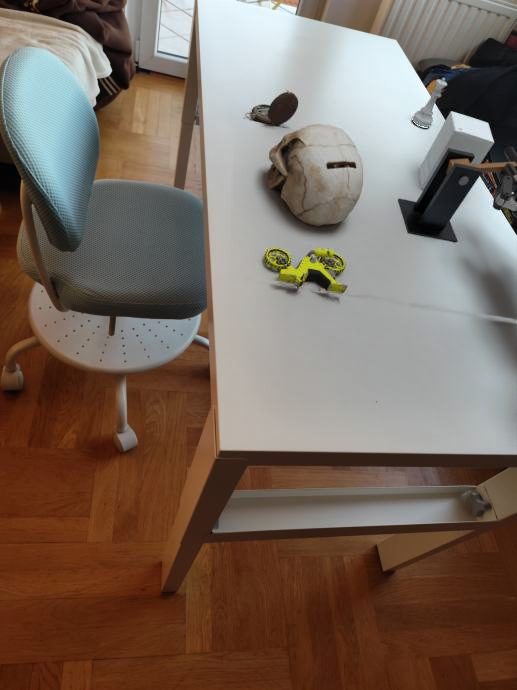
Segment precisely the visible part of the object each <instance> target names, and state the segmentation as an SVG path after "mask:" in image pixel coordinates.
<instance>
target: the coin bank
mask: <svg viewBox="0 0 517 690" xmlns="http://www.w3.org/2000/svg"><path fill="white" fill-rule="evenodd" d="M268 159H269V160H270V162H271V163H272V164H271V165H270V168H269V170H268V171H267V181H266V184H267V185H268V188H269V189H271V190H274V191H279V192H280V193H281V194H280V198H281V200H283V201H284V202H285V203H286V204H287V207H288V208H289V210H290V212H291V214H292V215H293V216H294V217H295V218H296V219H298V220H299V221H301V222H302V223H305V224H308V225H311V226H315V227H320V226H324V225H326V226H327V225H328V226H329V225H335V224H338V223H340V222H343V221H344V220H345V219H347V218H348V217H349V215H350V214H351V213H352V211H353V210H354V208H355V206H356V205H357V203H358V201H360V197H361V194H362V191H363V185H364V165H363V160H362V157H361V155H360V153H359V151H358V149H357V147H356V144H355V142H354V141H353V140H352V139H351V136H349V135H348V134H347V132H346V131H345V129H343V128H342V127H341V128H340V127H338V126H336V125H330V124H324V123H323V124H321V123H319V124H308V125H305V126H304V127H301V128H299V129H298V130H294V131H293V132H289V133H286V134H285V135H284V136H283V137H282V138H281V140H280V141H279V142H278V144H276V145H274V146H273V147H271V149H270V150H269V152H268Z"/></svg>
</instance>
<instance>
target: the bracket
mask: <svg viewBox="0 0 517 690" xmlns="http://www.w3.org/2000/svg"><path fill="white" fill-rule="evenodd" d="M474 158H475V156H474V154H473V153H468V152H464V151H460V150H455V149H451V148H448V149H447V151H446V153H445V154H444V156H443V158H442V159H441V161H440V163H439V165H438V166H437V168H436V170H435V171H434V173H433V175H432V176H431V178H430V180H429V181H428V183H427V185H426V187H425V188H424V190H422V192H421V193H420V195H419V197H418V198H417V200H416V201H414V200H408V199H404V198H398V199H397V202H398V206H399V209H400V212H401V216H402V219H403V222H404V226H405V229H406V232H407V234H409V235H414V236H420V237H425V238H429V239H436V240H441V241H446V242H450V243H451V242H452V243H456V244H457V243H458V238H457V235H456V233H455V231H454V228H453V225H452V223H451V220H452V218H453V216H454V215H455V213H456V212H457V211H458V209H459V208H460V206H461V204H462V203H463V201H464V200H465V199H466V197H467V196H468V194H469V193H470V191H471V190H472V188H473V187H474V185H475V184H476V183H477V181H478V180H479V178H480V177H481V175H482V174H483V173H482V170H481V168H477V167H472V166H468V165H463V164H459V163H454V165H453V166H452V168H451V170H450V171H449V173H448V175H447V174H446V172H447V169H448V165H449V161H450V160H454V159H468V160H469V162H470V164H471V162H472V161H473V159H474Z"/></svg>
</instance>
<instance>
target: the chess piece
mask: <svg viewBox="0 0 517 690" xmlns="http://www.w3.org/2000/svg"><path fill="white" fill-rule="evenodd" d="M445 80H446V78H445V77H442V78H441V79H440V78H439V79H436V81H435V83H436V84H435V85H436V86H435V88H434V89H431V90H430V94H429V95H431V96H430V98H429V99H428V101H427V103H426V104H425V105H424V106H423V107H421V108H420V110H418V111H416V112H415V113H414V115H413V116H412V118H413V121H414V122H415V123H416V124H418V125H420V126H424V127H429V126H430V127H431V126H432V124H433V122H434V119H433V118H434V117H433V115H434V111H433V110H434V107H435V104H436V102H437V99H439V98H441V97H442V90H443V89H444V88H446V87H447V86H448V83H447V82H446V81H445Z"/></svg>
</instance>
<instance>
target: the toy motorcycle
mask: <svg viewBox="0 0 517 690" xmlns="http://www.w3.org/2000/svg"><path fill="white" fill-rule="evenodd" d="M272 254H275V256H274V255H272ZM313 255H314V256H315V257H314V256H313ZM271 258H272V259H274V261H272V260H271ZM327 258H328V259H327ZM263 260H264V263H266V265H268V267H269V268H271V269H274V270H278V271H279V274H278V277H277V282H283V283H288V284H291V285H294V286H295V287H296V289H295V293H297V292H298V289H300V288H301V287H302V286H303V285H304V283H305V282H315V283H316V284H318V285H319V286H321V287H322V288H323V289H324V290H325V291H329V292H333V293H338V294H344V293H345V292H346V290H347V288H348V286H349V285H348V284H344V283H341V282H339V281H336V278H337V276H336V274H337V275H339V274H342V273H344V271H345V269H346V266H347V264H346V261H345V259H344V258H343V256H341V255H340V254H338V253H335V251H334V249H329V248H328V249H327V248H320V247H319V248H315V249H311V250H309V252H308V253H307V254H306V255H305V256H304V257H303V258H302V259H301V260H300V261H299V263H298V265H297V266H296V268H295V267H293V266H292V265H291V264H292V257H291V255H290V253H289V252H287V250H284V248H281V247H272V248H271V247H269V249H267V250H266V251H265V252H264V256H263ZM337 264H340V266H339V265H337ZM334 267H335V268H334Z"/></svg>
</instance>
